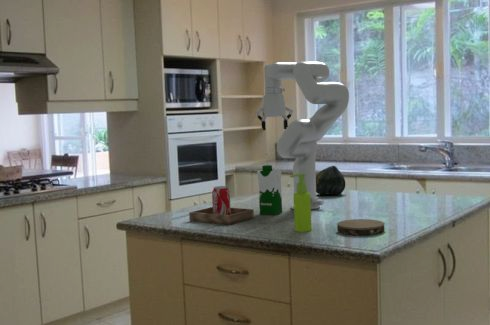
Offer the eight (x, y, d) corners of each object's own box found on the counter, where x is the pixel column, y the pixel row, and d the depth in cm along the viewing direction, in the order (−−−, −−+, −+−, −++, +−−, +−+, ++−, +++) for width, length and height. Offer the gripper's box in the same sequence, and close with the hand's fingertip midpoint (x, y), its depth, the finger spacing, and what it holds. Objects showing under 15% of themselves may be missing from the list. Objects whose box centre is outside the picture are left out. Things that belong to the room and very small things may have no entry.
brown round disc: (383, 227, 221) (382, 218, 220) (385, 236, 205) (385, 227, 205) (337, 227, 223) (337, 219, 223) (337, 237, 208) (336, 228, 207)
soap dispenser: (290, 229, 222) (288, 173, 220) (309, 228, 222) (307, 172, 221) (293, 232, 216) (291, 175, 214) (312, 231, 217) (311, 174, 215)
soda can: (228, 218, 243) (227, 188, 242) (211, 218, 244) (209, 188, 243) (232, 215, 250) (231, 185, 248) (215, 215, 251) (214, 186, 250)
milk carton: (256, 214, 255) (254, 166, 253) (266, 210, 262) (264, 163, 261) (276, 215, 250) (274, 166, 249) (285, 211, 258) (283, 164, 257)
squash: (308, 182, 308) (315, 161, 298) (336, 181, 312) (344, 160, 301) (315, 204, 299) (323, 183, 288) (344, 203, 302) (353, 182, 292)
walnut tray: (253, 218, 247) (253, 209, 247) (228, 225, 234) (228, 216, 234) (215, 214, 259) (215, 206, 259) (189, 220, 247) (189, 212, 246)
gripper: (290, 91, 285) (291, 128, 286) (253, 92, 283) (254, 130, 284) (293, 90, 277) (295, 129, 279) (255, 92, 275) (257, 130, 277)
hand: (274, 129), depth 282 cm, fingers open, 9 cm apart
